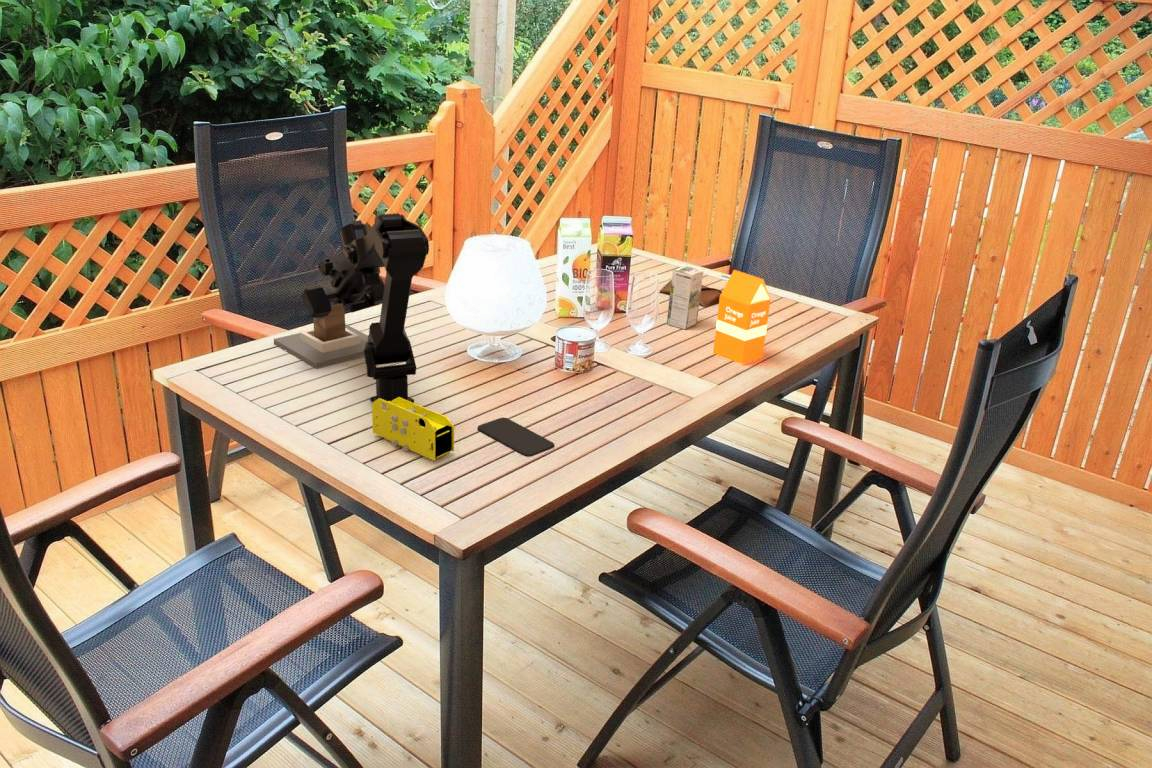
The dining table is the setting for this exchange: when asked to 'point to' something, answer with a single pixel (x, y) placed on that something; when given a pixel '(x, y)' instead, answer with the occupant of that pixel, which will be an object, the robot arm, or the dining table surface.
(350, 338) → the socket plate
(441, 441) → the yellow toy chassis
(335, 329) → the walnut block
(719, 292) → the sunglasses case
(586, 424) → the dining table surface
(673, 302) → the syrup box
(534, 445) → the phone
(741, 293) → the orange juice
